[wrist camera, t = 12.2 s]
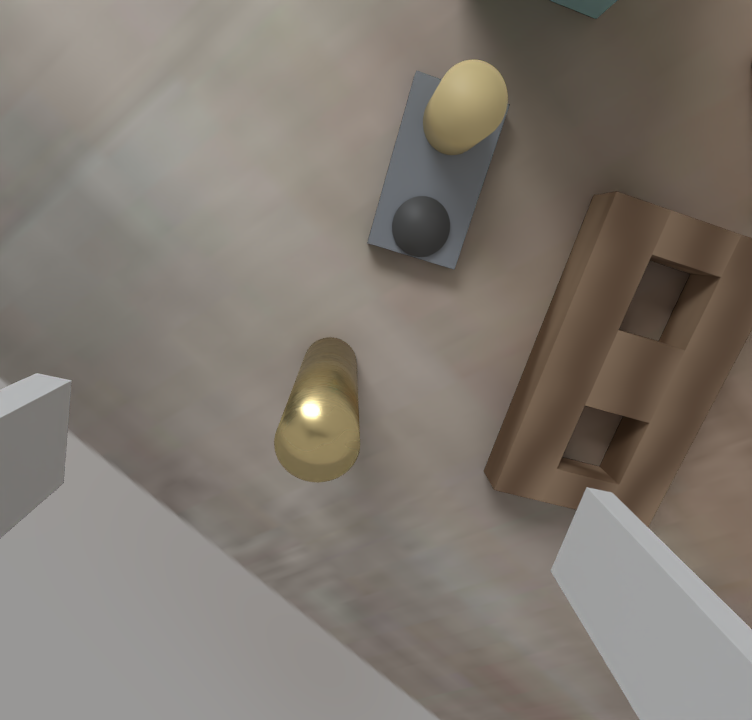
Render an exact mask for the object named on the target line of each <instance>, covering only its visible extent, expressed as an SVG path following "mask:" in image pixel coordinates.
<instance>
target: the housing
mask: <svg viewBox="0 0 752 720" xmlns="http://www.w3.org/2000/svg"><path fill="white" fill-rule="evenodd" d="M550 1H553V2H555V3H558V4H560V5H563V6H565V7H568V8H570V9H573V10H575V11H578V12H580V13H582V14H585V15H587V16H590V17H592V18H595V19H597V18H598V17H599V16H600V15H601V14H603V13H604V12H605V11H606V10H607V9H608V8H609V7H611V6H612V5H613V4H614V3H615V2H616V1H617V0H550Z"/></svg>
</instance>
